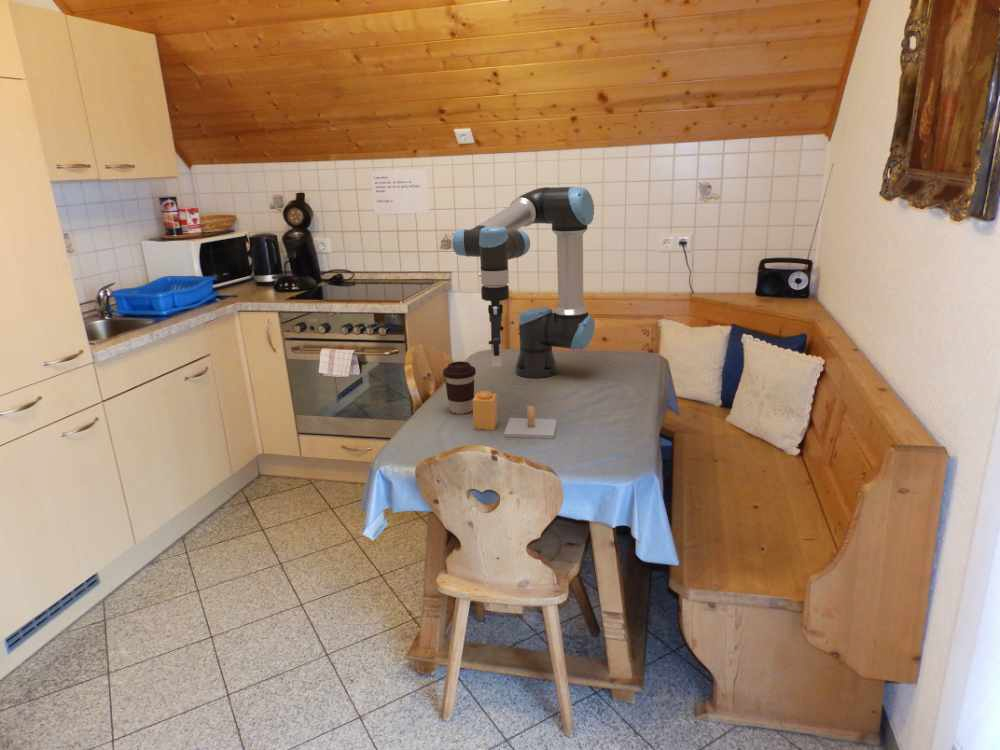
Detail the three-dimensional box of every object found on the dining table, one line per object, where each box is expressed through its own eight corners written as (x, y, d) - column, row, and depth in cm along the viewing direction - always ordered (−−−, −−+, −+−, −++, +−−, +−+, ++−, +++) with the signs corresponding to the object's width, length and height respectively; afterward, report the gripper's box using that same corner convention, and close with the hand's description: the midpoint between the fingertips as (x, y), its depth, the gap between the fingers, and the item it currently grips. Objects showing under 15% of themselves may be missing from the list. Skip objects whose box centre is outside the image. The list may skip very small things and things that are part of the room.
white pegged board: (510, 420, 201) (509, 398, 199) (557, 422, 198) (557, 400, 196) (503, 436, 190) (503, 413, 187) (553, 438, 187) (553, 415, 185)
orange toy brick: (477, 421, 201) (476, 389, 198) (497, 422, 200) (496, 389, 197) (473, 429, 195) (472, 396, 192) (494, 430, 194) (493, 397, 191)
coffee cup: (453, 418, 204) (450, 371, 200) (440, 408, 213) (437, 363, 208) (482, 412, 208) (480, 365, 204) (469, 402, 217) (466, 357, 212)
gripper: (482, 277, 196) (485, 348, 203) (479, 293, 173) (482, 372, 179) (508, 277, 196) (509, 347, 203) (508, 293, 172) (510, 372, 179)
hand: (497, 359), depth 191 cm, fingers open, 13 cm apart
